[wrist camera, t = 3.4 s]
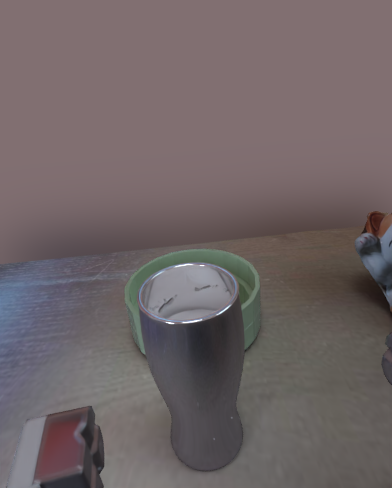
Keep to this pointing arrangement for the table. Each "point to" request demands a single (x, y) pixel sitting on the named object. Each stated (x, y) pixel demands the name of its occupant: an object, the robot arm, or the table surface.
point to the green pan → (226, 260)
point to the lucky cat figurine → (378, 250)
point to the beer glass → (196, 358)
